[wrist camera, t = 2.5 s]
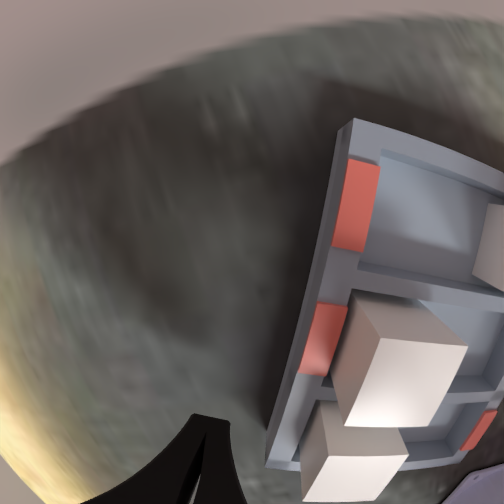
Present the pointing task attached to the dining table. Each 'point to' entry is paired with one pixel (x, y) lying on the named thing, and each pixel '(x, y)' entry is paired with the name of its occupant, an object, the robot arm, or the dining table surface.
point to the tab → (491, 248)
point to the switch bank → (399, 282)
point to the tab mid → (392, 361)
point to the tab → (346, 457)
